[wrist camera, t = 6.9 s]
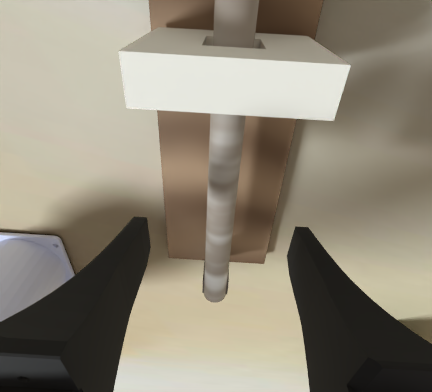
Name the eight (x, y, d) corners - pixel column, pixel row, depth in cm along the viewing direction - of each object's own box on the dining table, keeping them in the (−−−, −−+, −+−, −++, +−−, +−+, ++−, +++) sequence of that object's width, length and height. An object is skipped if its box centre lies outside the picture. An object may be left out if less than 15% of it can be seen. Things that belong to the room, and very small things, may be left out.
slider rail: (262, 254, 28) (269, 310, 23) (170, 248, 28) (158, 303, 23) (336, -91, 13) (395, -132, 9) (146, -102, 14) (100, -149, 9)
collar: (299, 75, 16) (333, 120, 11) (161, 67, 16) (126, 108, 11) (307, 36, 15) (350, 65, 10) (158, 27, 15) (118, 50, 10)
